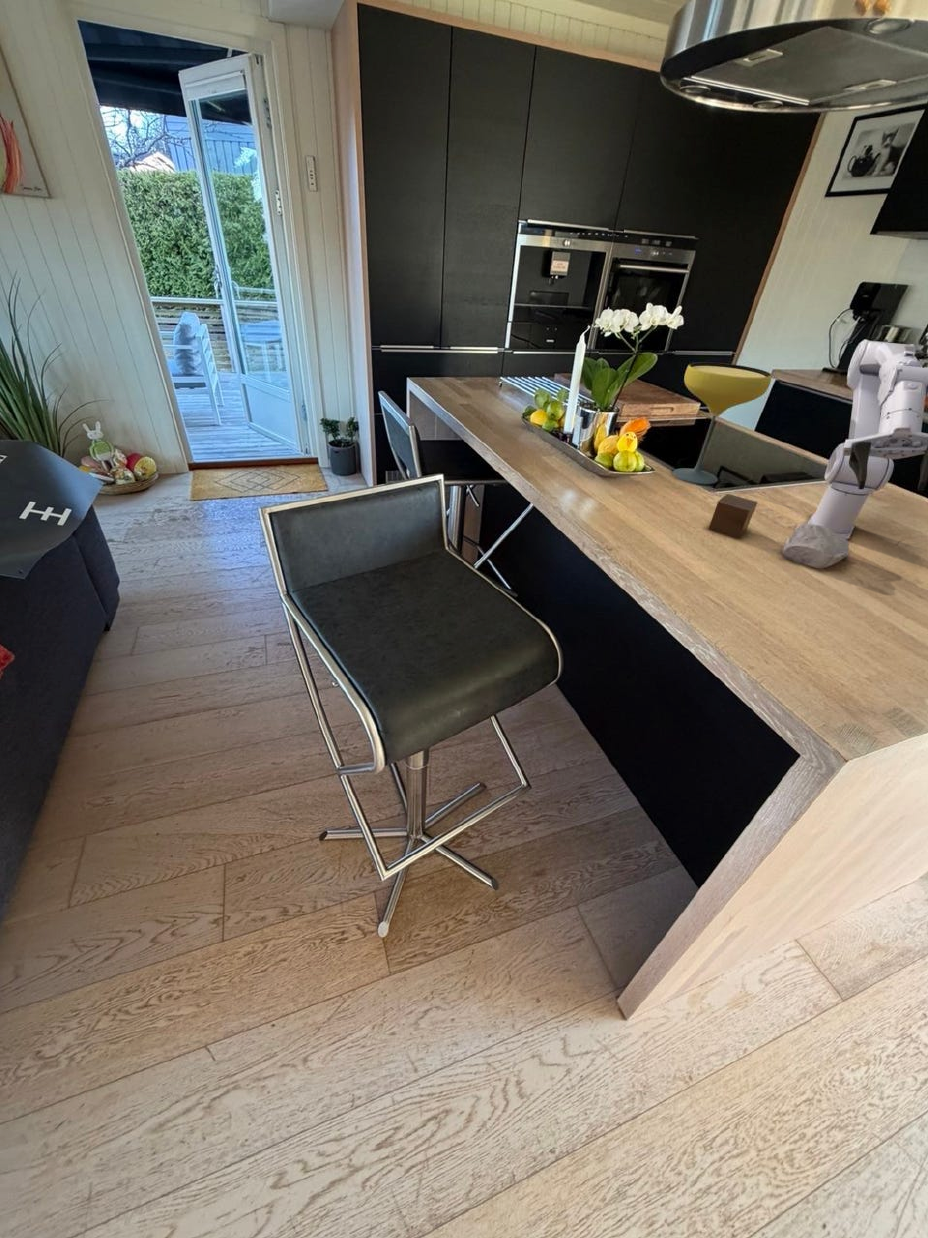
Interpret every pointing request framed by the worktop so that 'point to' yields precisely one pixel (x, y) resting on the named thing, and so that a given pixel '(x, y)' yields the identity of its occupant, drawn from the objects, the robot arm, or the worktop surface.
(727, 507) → the walnut cube
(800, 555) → the grey rock
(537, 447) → the worktop surface
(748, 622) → the worktop surface
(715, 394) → the cocktail glass
